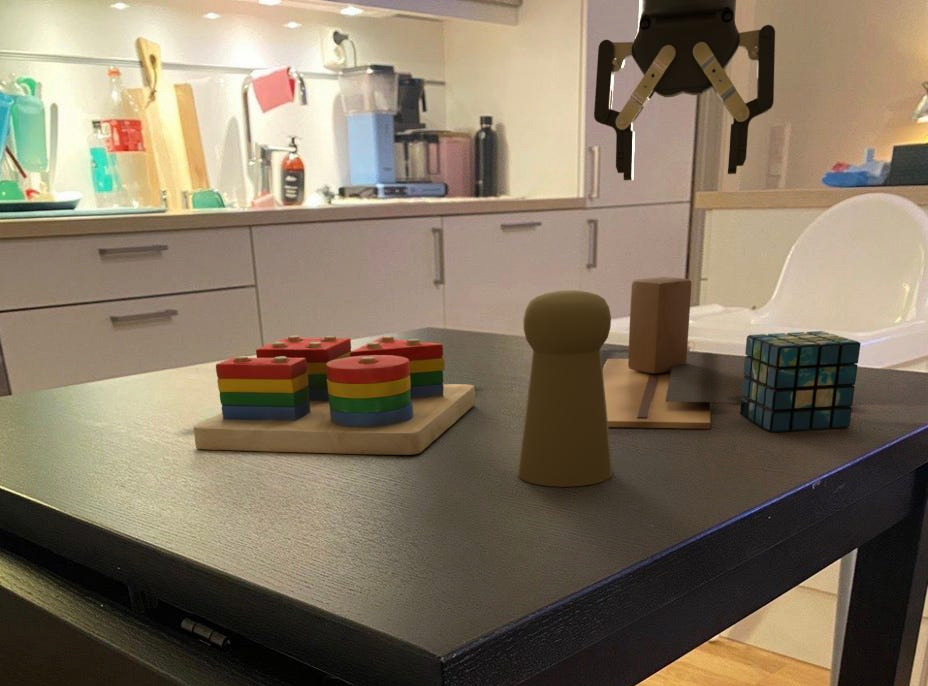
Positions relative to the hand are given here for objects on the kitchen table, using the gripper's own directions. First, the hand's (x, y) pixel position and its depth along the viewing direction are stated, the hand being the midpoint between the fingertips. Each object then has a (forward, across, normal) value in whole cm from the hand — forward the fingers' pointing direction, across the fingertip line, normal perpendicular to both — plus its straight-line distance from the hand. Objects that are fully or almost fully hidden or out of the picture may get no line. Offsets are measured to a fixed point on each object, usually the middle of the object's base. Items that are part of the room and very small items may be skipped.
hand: (679, 177), depth 82 cm
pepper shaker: (+17, +5, +32) cm, 37 cm away
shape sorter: (+17, +24, +20) cm, 36 cm away
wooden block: (+16, +1, -2) cm, 17 cm away
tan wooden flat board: (+17, +1, +5) cm, 18 cm away
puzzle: (+17, -10, +16) cm, 26 cm away
